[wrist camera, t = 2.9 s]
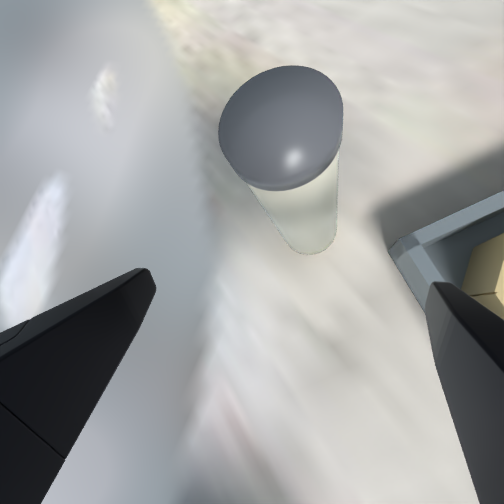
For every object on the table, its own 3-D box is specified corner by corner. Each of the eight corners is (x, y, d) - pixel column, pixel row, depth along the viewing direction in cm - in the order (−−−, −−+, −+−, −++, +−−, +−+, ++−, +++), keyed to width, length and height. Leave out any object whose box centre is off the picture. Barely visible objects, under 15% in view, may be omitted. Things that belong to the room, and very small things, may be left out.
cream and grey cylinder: (295, 265, 20) (244, 200, 9) (273, 218, 22) (202, 108, 10) (348, 240, 20) (369, 134, 8) (322, 193, 21) (306, 44, 9)
